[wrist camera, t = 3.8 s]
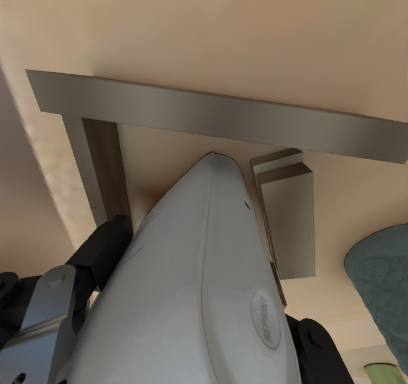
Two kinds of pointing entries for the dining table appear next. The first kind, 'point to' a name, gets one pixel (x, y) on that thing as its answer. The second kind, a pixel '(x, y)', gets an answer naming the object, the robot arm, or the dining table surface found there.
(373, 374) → the tube
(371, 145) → the wooden tray
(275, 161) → the block
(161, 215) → the rounded white slotted gadget
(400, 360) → the teal cup
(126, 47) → the dining table surface
